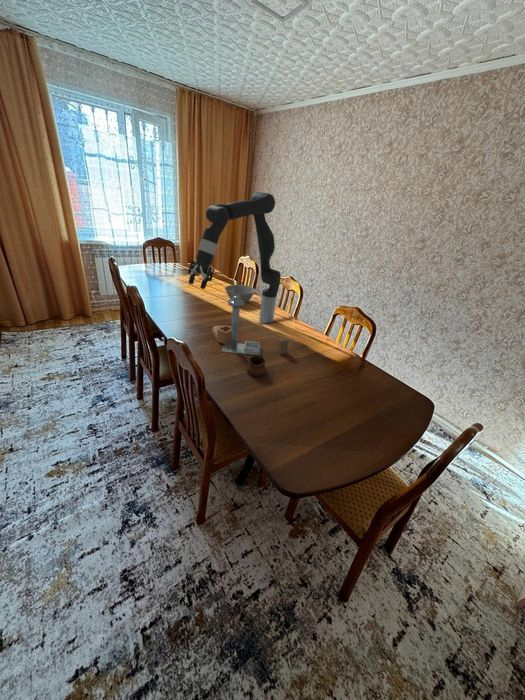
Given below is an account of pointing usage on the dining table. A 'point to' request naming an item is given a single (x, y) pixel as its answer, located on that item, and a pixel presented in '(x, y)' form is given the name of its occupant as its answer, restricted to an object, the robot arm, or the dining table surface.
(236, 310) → the metal post stand
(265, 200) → the robot arm
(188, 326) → the dining table surface
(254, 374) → the ceramic pot
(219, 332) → the bracket
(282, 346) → the wooden block
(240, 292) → the ceramic bowl
